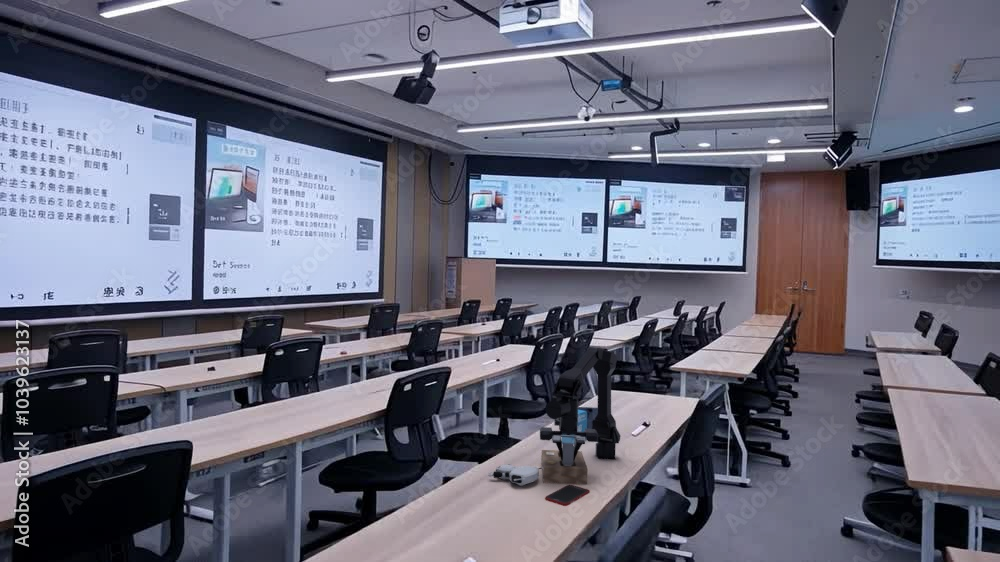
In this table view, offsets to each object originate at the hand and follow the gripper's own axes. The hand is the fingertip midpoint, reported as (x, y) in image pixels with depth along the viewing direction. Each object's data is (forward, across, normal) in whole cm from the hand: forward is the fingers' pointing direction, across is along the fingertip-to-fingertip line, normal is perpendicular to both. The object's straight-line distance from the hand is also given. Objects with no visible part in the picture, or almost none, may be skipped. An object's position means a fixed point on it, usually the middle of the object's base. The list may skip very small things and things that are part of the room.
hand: (567, 460), depth 195 cm
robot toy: (+6, +17, +3) cm, 18 cm away
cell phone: (+7, +1, +14) cm, 16 cm away
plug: (+3, 0, 0) cm, 3 cm away
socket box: (+6, +1, -4) cm, 8 cm away
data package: (+6, -6, -41) cm, 42 cm away
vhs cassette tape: (+6, -13, -58) cm, 60 cm away
